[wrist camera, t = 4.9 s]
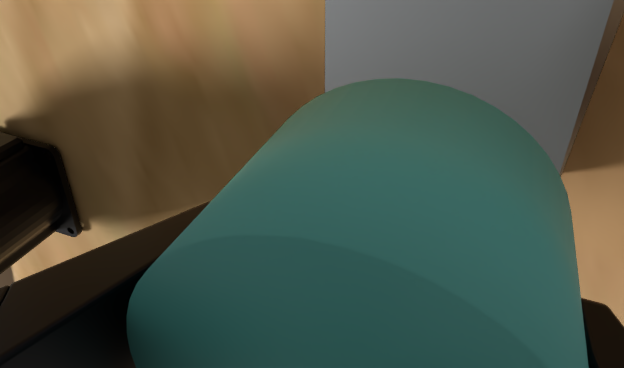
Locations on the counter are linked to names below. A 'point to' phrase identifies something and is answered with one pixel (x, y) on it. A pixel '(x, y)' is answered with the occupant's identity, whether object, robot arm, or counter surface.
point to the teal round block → (374, 246)
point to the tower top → (476, 53)
